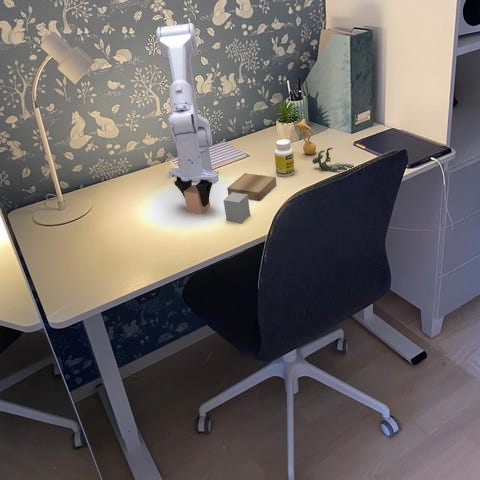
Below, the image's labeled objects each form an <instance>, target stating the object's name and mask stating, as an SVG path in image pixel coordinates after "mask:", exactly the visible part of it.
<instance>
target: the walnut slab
mask: <svg viewBox="0 0 480 480" xmlns="http://www.w3.org/2000/svg"><path fill="white" fill-rule="evenodd" d="M276 186H277V177H276V176H270V175H263V174H254V173H248V172H246V173H245V172H244V174H242V175H241V176H240V177H238V178H237V179H235V181H234V182H232V184H230V185H229V186H227V188H226V189H227V195H228V196H229V195H230V194H231V193H232V192H234V193H241V194H248V200H251V201H256V202H257V201H258V202H261V201H262V200H263V199H264V198H265V197H266V196H267V195H268V194H269V193H271V192H272V191H273V189H274V188H275V187H276ZM228 196H227V197H228Z"/></svg>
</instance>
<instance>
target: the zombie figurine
mask: <svg viewBox="0 0 480 480" xmlns="http://www.w3.org/2000/svg"><path fill="white" fill-rule="evenodd" d="M333 148H334V147H328V148H327V149H326V151H325V150H320V151H319V152H318V154H317V157H313V159H312V164H314V165H315V164H318V165H319V166H318V167H319V168H320V169H321V170H323V172H324V171H326V172H335V171H336V170H344V171H346V170H347V169H350V168H352V167H354V166H355V165H354V164H350V163H339V162H338V163H337V162H336V163H333V164H331V165H330V166H329V165H328V164H327V163H330V162H332V160H331V157H330V152H329V151H331V150H332V149H333ZM324 152H326V153H325V156H326V157H325V156H324V154H323V153H324ZM324 157H325V159H324V161H323V162H322V159H323V158H324Z"/></svg>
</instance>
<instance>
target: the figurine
mask: <svg viewBox="0 0 480 480" xmlns="http://www.w3.org/2000/svg"><path fill="white" fill-rule="evenodd" d="M297 127H298V128H299V129H300V133H301V134H302V135H303V142H305V143H304V144H303V147H302V148H303V149H302V150H303V152H304V153H305V154H307V155H312V154H314V153H315V152H316V149H317V145H316V144H315V143H314V142H313V141H311V140H310V139H311V136H312V134H311V133H310V132H309V130H310V131H311V132H312V133H313V134H314V135H315V136H316V137H317V136H318V134H317V133H316V132H315V131H314V130H313V129H312V127H311V126H309V125H308V124H307V123H306V118H302V120H301V121H300V122H298V123H296V124H294V131H295V132H297V130H298V129H297ZM307 129H308V130H307ZM306 138H307V140H306Z"/></svg>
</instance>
